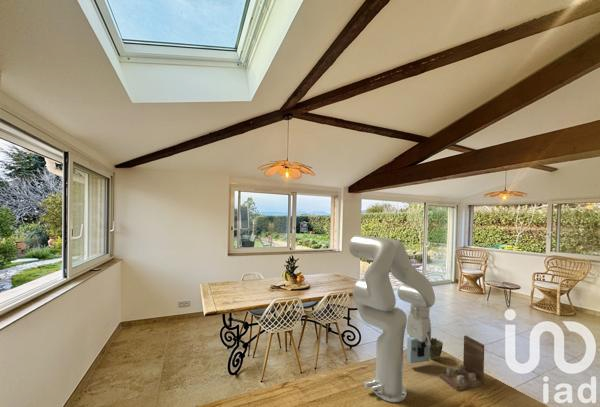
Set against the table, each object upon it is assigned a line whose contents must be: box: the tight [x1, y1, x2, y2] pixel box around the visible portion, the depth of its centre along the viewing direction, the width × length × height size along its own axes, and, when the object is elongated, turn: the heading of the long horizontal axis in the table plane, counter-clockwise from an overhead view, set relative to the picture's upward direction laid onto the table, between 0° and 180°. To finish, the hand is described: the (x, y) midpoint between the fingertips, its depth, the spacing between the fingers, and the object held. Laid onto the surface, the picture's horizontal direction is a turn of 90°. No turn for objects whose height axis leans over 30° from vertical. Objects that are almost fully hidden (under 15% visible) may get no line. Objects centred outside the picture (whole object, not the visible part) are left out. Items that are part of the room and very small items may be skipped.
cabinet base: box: [439, 335, 485, 391], centre depth 107 cm, size 14×8×16 cm, turn 108°
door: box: [406, 336, 430, 364], centre depth 116 cm, size 10×3×10 cm, turn 108°
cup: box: [429, 337, 444, 361], centre depth 123 cm, size 8×7×8 cm
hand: (418, 354), depth 116 cm, fingers closed on door, 2 cm apart
